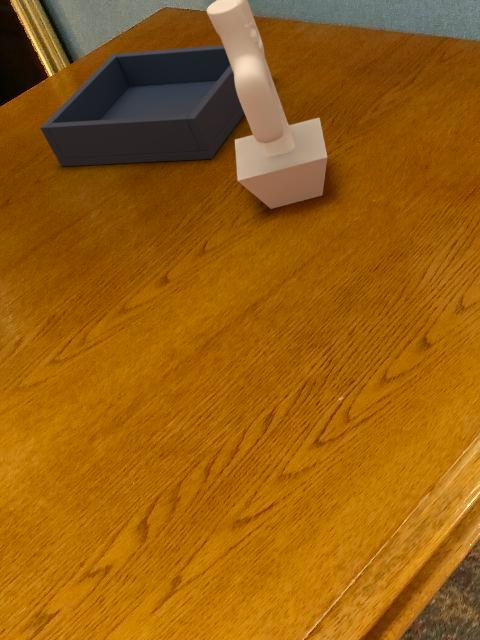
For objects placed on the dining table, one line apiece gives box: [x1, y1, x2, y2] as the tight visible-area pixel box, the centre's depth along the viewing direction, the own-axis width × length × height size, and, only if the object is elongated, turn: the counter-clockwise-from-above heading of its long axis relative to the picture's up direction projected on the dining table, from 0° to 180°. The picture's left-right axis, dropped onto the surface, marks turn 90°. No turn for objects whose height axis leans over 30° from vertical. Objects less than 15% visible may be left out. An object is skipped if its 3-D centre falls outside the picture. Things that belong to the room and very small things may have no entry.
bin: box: [39, 44, 245, 167], centre depth 94 cm, size 16×15×4 cm
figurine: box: [206, 0, 328, 210], centre depth 78 cm, size 7×9×15 cm
